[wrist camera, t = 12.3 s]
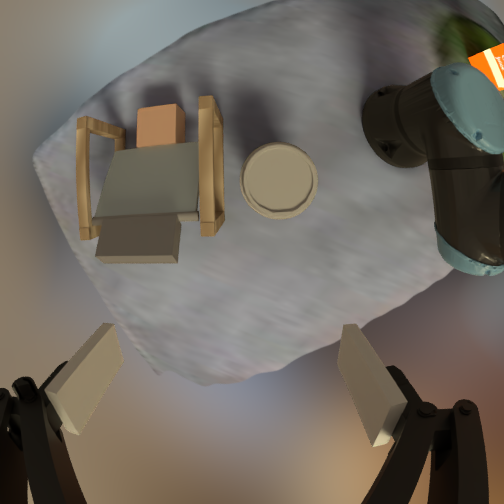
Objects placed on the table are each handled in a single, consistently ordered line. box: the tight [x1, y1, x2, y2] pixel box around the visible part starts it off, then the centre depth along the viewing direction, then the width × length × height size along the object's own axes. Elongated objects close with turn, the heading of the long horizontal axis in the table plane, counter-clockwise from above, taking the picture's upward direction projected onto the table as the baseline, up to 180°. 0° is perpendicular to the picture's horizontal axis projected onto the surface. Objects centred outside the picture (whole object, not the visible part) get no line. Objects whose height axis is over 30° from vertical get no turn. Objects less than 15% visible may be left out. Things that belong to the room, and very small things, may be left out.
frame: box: [76, 96, 225, 240], centre depth 36 cm, size 19×17×13 cm
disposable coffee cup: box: [240, 142, 318, 219], centre depth 37 cm, size 10×10×12 cm
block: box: [137, 104, 185, 148], centre depth 38 cm, size 6×6×6 cm
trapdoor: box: [92, 142, 199, 263], centre depth 34 cm, size 15×18×2 cm
